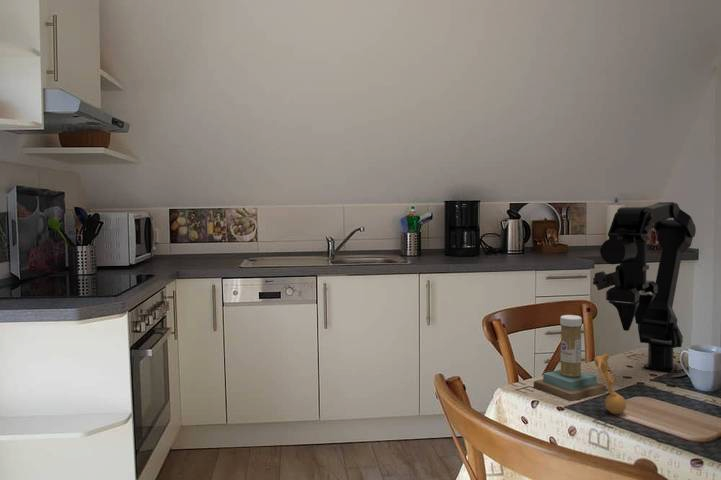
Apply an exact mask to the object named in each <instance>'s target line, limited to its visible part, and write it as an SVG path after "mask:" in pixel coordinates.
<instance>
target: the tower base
mask: <svg viewBox="0 0 721 480" xmlns="http://www.w3.org/2000/svg"><path fill="white" fill-rule="evenodd" d="M560 371H561V369H557V370H552V371H548V372H544V373H543V375H542V376H543V378H542V379H538V380H534V381H533V388H534V389H536V388H537V389H536V390H538V391H539V390H540V391H542V392H543V393H544V392H546V393H547V394H550V395H553V396H556V397H559V398H561V399H564V400H566V401H570V402H574V401H578V400H581V399H586V398H589V397H593V396H597V395H601V394H605V393H607V385H606V384H605V385H604V384H601V383H600V382H599V383H598V382H597V376H596V375H592V374H589V373H585V372H583V371H581V376H579V377H566V376H563V375H561V373H560Z"/></svg>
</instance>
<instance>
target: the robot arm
mask: <svg viewBox="0 0 721 480" xmlns="http://www.w3.org/2000/svg"><path fill="white" fill-rule="evenodd" d="M610 224H611V225H610V226H609V230H608V232H607V237H608V239H607V240H605V241H604V242H602V245H601V247H600V249H599V251H600V257H601V259H602V260H603V261H604V262H606V263H607V264H609V265H616V266H615V268H614V269H615V271H613V272H609V273H606V272H605V271H604V270H602V271H598V272H595V273H594V277H592V279H593V281H592V284H593V286H596V288H597V291H602V290H604V289H606V288H607V289H608V288H609V289H608V290H606V292H605V301H608V303H609V304H610V305H612V306H614V307H615V309H616V310H617V313H618V316H619V320H620V322H621V326H622V329H623V331H627V332H628V331H630V328H631V326H632V323H633V321H634V320H635V324H636V325H637V331H638V338H639V342H640V343H642V344H643V343H644V344H647V346H648V347H647V348H648V349H647V363H646V364H644V365H643V368H644V369H648V370H655V371H660V372H665V373H666V372H667V373H672V372H673V371H674V370H676V369H677V368H678V364H674V349H675V348H682V347H683V346H682V345H683V342H684V340H683V339H684V338H683V337H684V336H683V334H682V332H681V330H680V328H679V326H678V318H677V315H676V314H675V311H674V308H673V306H674V301H675V300H674V299H675V293H676V290H677V283H678V278H679V277H678V276H679V274H680V268H681V263H682V257H683V254H684V253H685V252H686V251H687V250H689V248H690V247H691V246H692V244H693V243H692V242H693V239H694V237H695V235H696V232H697V231H696V230H697V229H696V228H697V227H696V224H695V222H694V220H693V218H692V216H691V215H689V214H688V213H687V212H685V211H684V210H682V209H681V208H680V206H679V203H677V202H673V201H671V202H670V201H668V202H667V201H666V202H662V201H661V202H659V201H658V202H656V203H654V204H651V205H647V206H642V207H641V206H639V207H638V206H636V207H635V206H633V207H629V206H627V207H625V206H623V207H619V208H618V209H617V211H616V212H615V213H614V215H613V218H612V220H611V223H610ZM652 229H654V231H655V233H656V239H657V240H656V241H657V242H658V244H659V247H660V248H661V251H660V252H661V253H660V257H659V262H658V267H657V272H656V278H655V281H654V280H647V271H648V270H650V265H649V264H647V260H648V259H647V257H648V256H647V255H648V253H647V250H648V249H647V247H648V246H647V243H648V242H647V241H649V240H650V237H649V235H648V234H649V232H650V231H651V230H652Z"/></svg>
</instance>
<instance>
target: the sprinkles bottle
mask: <svg viewBox="0 0 721 480" xmlns="http://www.w3.org/2000/svg"><path fill="white" fill-rule="evenodd" d="M559 319H560V320H559V321H560V322H559V323H560V328H561V329H560V332H561V333H560V335H561V336H560V370H561V371H560V373H561V375H563V376H566V377H579V376H581V372H582V371H581V370H582V325H583V318H582V316H580V315H575V314H564V315H561V316H560V318H559Z"/></svg>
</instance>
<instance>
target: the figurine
mask: <svg viewBox="0 0 721 480" xmlns="http://www.w3.org/2000/svg"><path fill="white" fill-rule="evenodd" d="M609 359H610V357H609V354H608V353H605V354H602V355H597V356H595V357H594V364H595V365H596V368H597V370H598V372H599V373H600V375H601V377H602V379H603V382H604V384H605V385H606V384H607V385H606V391H608V393H609V394H608V395H607V396H606V397H605V399H604V405H605V408H606V410H607V411H608V412H609V413H611V414H613V415H620V414H621V413H624V411H625V410H626V409H627V401H626V399H625V397H623V395H621V394H619V393H618V392H616V391H614V390H613V389H612V387H613V386H614V384H615V382H616V379H615V377H613V375H612V374H613V373H614V372H613V369H611V367H610V366H609V362H608V360H609ZM608 370H609V371H608Z"/></svg>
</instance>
